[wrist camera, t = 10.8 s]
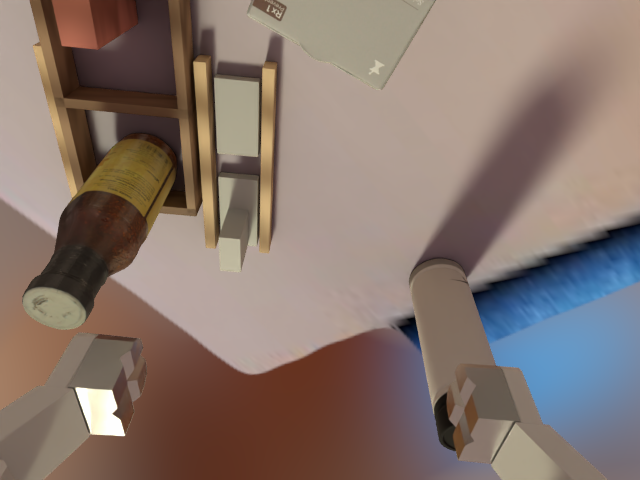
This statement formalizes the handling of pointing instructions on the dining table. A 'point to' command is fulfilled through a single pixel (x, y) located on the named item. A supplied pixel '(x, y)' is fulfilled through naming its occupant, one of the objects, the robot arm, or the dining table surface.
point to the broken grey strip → (236, 189)
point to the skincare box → (347, 31)
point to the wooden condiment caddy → (71, 99)
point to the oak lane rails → (203, 144)
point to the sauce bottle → (102, 229)
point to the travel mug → (446, 332)
